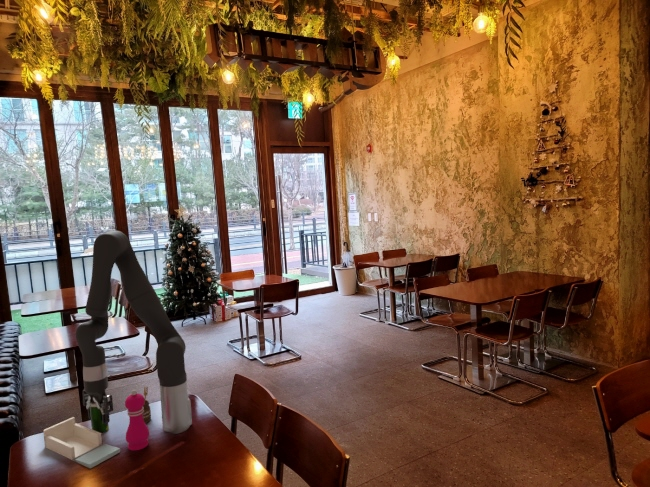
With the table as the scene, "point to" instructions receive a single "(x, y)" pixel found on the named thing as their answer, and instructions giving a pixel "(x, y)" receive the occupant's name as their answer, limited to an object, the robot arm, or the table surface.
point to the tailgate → (96, 455)
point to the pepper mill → (136, 422)
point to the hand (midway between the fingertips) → (99, 420)
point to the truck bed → (71, 438)
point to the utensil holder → (146, 408)
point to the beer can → (97, 419)
